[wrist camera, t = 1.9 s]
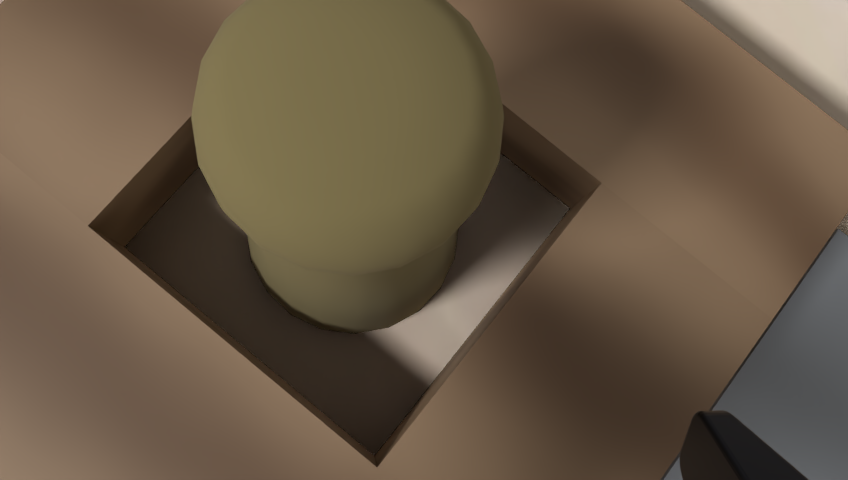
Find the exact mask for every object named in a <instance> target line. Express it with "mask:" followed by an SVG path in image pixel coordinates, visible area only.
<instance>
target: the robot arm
mask: <svg viewBox="0 0 848 480" xmlns="http://www.w3.org/2000/svg"><path fill="white" fill-rule="evenodd" d="M680 470H681V474H682V478H683V480H809V479H808V478H807V477H805V476H804V475H803V474H802V473H801V472H799V471H798V470H797V469H796V468H795V467H794V466H792V465H791V464H790V463H789V462H788V461H787V460H785V459H784V458H783V457H782V456H781V455H780V454H778V453H777V452H776V451H775V450H774V449H773V448H771V447H770V446H769V445H768V444H767V443H766V442H764V441H763V440H762V439H761V438H760V437H759V436H757V435H756V434H755V433H754V432H753V431H751V430H750V429H749V428H748V427H747V426H746V425H744V424H743V423H742V422H741V421H740V420H739V419H737V418H736V417H735V416H734V415H733V414H731V413H729V412H727V411H723V410H713V411H698V412H697V413H695V414H694V415H693V417H692V420H691V423H690V425H689V428H688V431H687V434H686V437H685V440H684V442H683V445H682V448H681V452H680Z"/></svg>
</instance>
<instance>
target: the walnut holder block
mask: <svg viewBox="0 0 848 480" xmlns="http://www.w3.org/2000/svg"><path fill="white" fill-rule="evenodd" d="M245 1H246V0H4V1H3V2H2V3H1V4H0V480H660V479H661V478H662V477H663V475H664V474H665V472H666V471H667V469H668V468H669V467H670V465H671V464H672V462H673V461H674V459H675V458H676V457H677V455H678V454H679V452H680V451H681V448H682V445H683V442H684V440H685V437H686V434H687V431H688V428H689V425H690V423H691V420H692V417H693V415H694V414H695V413H697V412H698V411H709V409H710V408H711V407H712V405H713V404H714V402H715V401H716V399H717V398H718V397H719V395H720V394H721V392H722V391H723V389H724V388H725V387H726V385H727V384H728V382H729V381H730V379H731V378H732V377H733V375H734V374H735V372H736V371H737V369H738V368H739V367H740V365H741V364H742V362H743V361H744V359H745V358H746V357H747V355H748V354H749V352H750V351H751V349H752V348H753V347H754V345H755V344H756V342H757V341H758V339H759V338H760V337H761V335H762V334H763V332H764V331H765V329H766V328H767V327H768V325H769V324H770V322H771V321H772V319H773V318H774V317H775V315H776V314H777V312H778V311H779V309H780V308H781V307H782V305H783V304H784V302H785V301H786V299H787V298H788V297H789V295H790V294H791V292H792V291H793V289H794V288H795V287H796V285H797V284H798V282H799V281H800V279H801V278H802V277H803V275H804V274H805V272H806V271H807V269H808V268H809V267H810V265H811V264H812V262H813V261H814V259H815V258H816V257H817V255H818V254H819V252H820V251H821V249H822V248H823V247H824V245H825V244H826V242H827V241H828V239H829V238H830V237H831V235H832V234H833V232H834V231H835V229H836V228H837V227H838V225H839V224H840V222H841V221H842V219H843V218H844V217H845V215H846V214H847V212H848V130H847V129H846V128H844V127H843V126H842V125H841V124H839V123H838V122H837V121H835V120H834V119H833V118H832V117H830V116H829V115H828V114H826V113H825V112H824V111H823V110H821V109H820V108H819V107H817V106H816V105H815V104H814V103H812V102H811V101H810V100H808V99H807V98H806V97H805V96H803V95H802V94H801V93H799V92H798V91H797V90H796V89H794V88H793V87H792V86H790V85H789V84H788V83H787V82H785V81H784V80H783V79H781V78H780V77H779V76H778V75H776V74H775V73H774V72H772V71H771V70H770V69H769V68H767V67H766V66H765V65H763V64H762V63H761V62H760V61H758V60H757V59H756V58H754V57H753V56H752V55H751V54H749V53H748V52H747V51H745V50H744V49H743V48H742V47H740V46H739V45H738V44H736V43H735V42H734V41H733V40H731V39H730V38H729V37H727V36H726V35H725V34H724V33H722V32H721V31H720V30H718V29H717V28H716V27H715V26H713V25H712V24H711V23H709V22H708V21H707V20H706V19H704V18H703V17H702V16H700V15H699V14H698V13H697V12H695V11H694V10H693V9H691V8H690V7H689V6H688V5H686V4H685V3H684V2H682V1H681V0H446V1H448V2H449V3H450V4H451V5H452V6H453V7H454V8H455V9H456V10H457V11H459V12H460V13H461V14H462V15H463V16H464V17H465V18H466V19H467V20H468V21H470V23H471V25H472V26H473V28H474V30H475V31H476V33H477V35H478V37H479V38H480V40H481V42H482V43H483V45H484V47H485V49H486V50H487V52H488V54H489V55H490V57H491V59H492V61H493V64H494V69H495V74H496V78H497V83H498V87H499V92H500V97H501V101H502V106H503V112H504V123H503V132H502V141H501V151H500V152H501V153H502V154H503V155H505V156H506V157H507V158H508V159H510V160H511V161H512V162H513V163H515V164H516V165H517V166H518V167H520V168H521V169H522V170H523V171H525V172H526V173H527V174H528V175H530V176H531V177H532V178H533V179H535V180H536V181H537V182H538V183H540V184H541V185H542V186H543V187H545V188H546V189H547V190H548V191H550V192H551V193H552V194H553V195H555V196H556V197H557V198H558V199H560V200H561V201H562V202H563V203H564V204H566V205H567V206H568V207H569V208H570V209H569V211H568V212H567V213H566V215H565V216H564V217H563V218H562V220H561V221H560V222H559V223H558V225H557V226H556V227H555V228H554V230H553V231H552V232H551V233H550V235H549V236H548V237H547V239H546V240H545V241H544V242H543V244H542V245H541V246H540V247H539V249H538V250H537V251H536V252H535V254H534V255H533V256H532V258H531V259H530V260H529V261H528V263H527V264H526V265H525V266H524V268H523V269H522V270H521V271H520V273H519V274H518V275H517V276H516V278H515V279H514V280H513V282H512V283H511V284H510V285H509V287H508V288H507V289H506V290H505V292H504V293H503V294H502V295H501V297H500V298H499V299H498V301H497V302H496V303H495V304H494V306H493V307H492V308H491V309H490V311H489V312H488V313H487V314H486V316H485V317H484V318H483V319H482V321H481V322H480V323H479V325H478V326H477V327H476V328H475V330H474V331H473V332H472V333H471V335H470V336H469V337H468V338H467V340H466V341H465V342H464V343H463V345H462V346H461V347H460V349H459V350H458V351H457V352H456V354H455V355H454V356H453V357H452V359H451V360H450V361H449V362H448V364H447V365H446V366H445V368H444V369H443V370H442V371H441V373H440V374H439V375H438V376H437V378H436V379H435V380H434V381H433V383H432V384H431V385H430V386H429V388H428V389H427V390H426V392H425V393H424V394H423V395H422V397H421V398H420V399H419V400H418V402H417V403H416V404H415V405H414V407H413V408H412V409H411V411H410V412H409V413H408V414H407V416H406V417H405V418H404V419H403V421H402V422H401V423H400V424H399V426H398V427H397V428H396V429H395V431H394V432H393V433H392V435H391V436H390V437H389V438H388V440H387V441H386V442H385V443H384V445H383V446H382V447H381V448H380V450H379V451H378V452H377V454H376V455H375V456H374V455H373V454H371V453H370V452H369V451H368V450H367V449H366V448H364V447H363V446H362V445H361V444H360V443H358V442H357V441H356V440H355V439H354V438H352V437H351V436H350V435H349V434H348V433H346V432H345V431H344V430H343V429H342V428H340V427H339V426H338V425H337V424H336V423H334V422H333V421H332V420H331V419H330V418H328V417H327V416H326V415H325V414H324V413H322V412H321V411H320V410H319V409H318V408H316V407H315V406H314V405H313V404H312V403H310V402H309V401H308V400H307V399H306V398H304V397H303V396H302V395H301V394H300V393H298V392H297V391H296V390H295V389H294V388H292V387H291V386H290V385H289V384H288V383H286V382H285V381H284V380H283V379H282V378H280V377H279V376H278V375H277V374H276V373H274V372H273V371H272V370H271V369H270V368H268V367H267V366H266V365H265V364H264V363H262V362H261V361H260V360H259V359H258V358H256V357H255V356H254V355H253V354H252V353H250V352H249V351H248V350H247V349H246V348H244V347H243V346H242V345H241V344H240V343H238V342H237V341H236V340H235V339H234V338H232V337H231V336H230V335H229V334H228V333H226V332H225V331H224V330H223V329H222V328H220V327H219V326H218V325H217V324H216V323H215V322H213V321H212V320H211V319H210V318H209V317H207V316H206V315H205V314H204V313H203V312H201V311H200V310H199V309H198V308H197V307H195V306H194V305H193V304H192V303H191V302H189V301H188V300H187V299H186V298H185V297H183V296H182V295H181V294H180V293H179V292H177V291H176V290H175V289H174V288H173V287H171V286H170V285H169V284H168V283H167V282H165V281H164V280H163V279H162V278H161V277H159V276H158V275H157V274H156V273H155V272H153V271H152V270H151V269H150V268H149V267H147V266H146V265H145V264H144V263H143V262H141V261H140V260H139V259H138V258H137V257H135V256H134V255H133V254H132V253H131V252H129V251H128V250H127V249H126V248H125V246H126V244H127V243H128V242H129V241H130V240H131V239H132V238H133V237H134V236H135V235H136V234H137V233H138V231H139V230H140V229H141V228H142V227H143V226H144V225H145V224H146V223H147V222H148V221H149V220H150V218H151V217H152V216H153V215H154V214H155V213H156V212H157V211H158V210H159V209H160V208H161V207H162V205H163V204H164V203H165V202H166V201H167V200H168V199H169V198H170V197H171V196H172V195H173V194H174V192H175V191H176V190H177V189H178V188H179V187H180V186H181V185H182V184H183V183H184V182H185V181H186V179H187V178H188V177H189V176H190V175H191V174H192V173H193V172H194V171H195V170H196V169H197V168H198V160H197V153H196V147H195V140H194V133H193V127H192V120H191V115H192V106H193V101H194V96H195V90H196V85H197V80H198V75H199V69H200V64H201V60H202V58H203V56H204V55H205V53H206V51H207V49H208V48H209V46H210V44H211V42H212V41H213V39H214V37H215V35H216V34H217V32H218V30H219V28H220V27H221V25H222V23H223V21H224V20H225V19H226V18H227V17H228V16H229V15H230V14H232V13H233V12H234V11H235V10H236V9H237V8H238V7H239V6H240V5H242V4H243V3H244V2H245Z"/></svg>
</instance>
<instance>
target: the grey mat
mask: <svg viewBox="0 0 848 480" xmlns="http://www.w3.org/2000/svg"><path fill="white" fill-rule="evenodd" d="M713 410H723V411H727V412H729V413H731V414H733V415H734V416H735V417H736V418H737V419H739V420H740V421H741V422H742V423H743V424H744V425H746V426H747V427H748V428H749V429H750V430H751V431H753V432H754V433H755V434H756V435H757V436H759V437H760V438H761V439H762V440H763V441H764V442H766V443H767V444H768V445H769V446H770V447H771V448H773V449H774V450H775V451H776V452H777V453H778V454H780V455H781V456H782V457H783V458H784V459H785V460H787V461H788V462H789V463H790V464H791V465H792V466H794V467H795V468H796V469H797V470H798V471H799V472H801V473H802V474H803V475H804V476H805V477H807V478H808V479H809V480H848V236H847V235H846V234H844V233H843V232H842V231H841V230H839V229H837V230H835V231H834V232H833V234H832V235H831V237H830V238H829V239H828V241H827V242H826V244H825V245H824V247H823V248H822V249H821V251H820V252H819V254H818V255H817V257H816V258H815V259H814V261H813V262H812V264H811V265H810V267H809V268H808V269H807V271H806V272H805V274H804V275H803V277H802V278H801V279H800V281H799V282H798V284H797V285H796V287H795V288H794V289H793V291H792V292H791V294H790V295H789V297H788V298H787V299H786V301H785V302H784V304H783V305H782V307H781V308H780V309H779V311H778V312H777V314H776V315H775V317H774V318H773V319H772V321H771V322H770V324H769V325H768V327H767V328H766V329H765V331H764V332H763V334H762V335H761V337H760V338H759V339H758V341H757V342H756V344H755V345H754V347H753V348H752V349H751V351H750V352H749V354H748V355H747V357H746V358H745V359H744V361H743V362H742V364H741V365H740V367H739V368H738V369H737V371H736V372H735V374H734V375H733V377H732V378H731V379H730V381H729V382H728V384H727V385H726V387H725V388H724V389H723V391H722V392H721V394H720V395H719V397H718V398H717V399H716V401H715V402H714V404H713V405H712V407H711V408H710V409H709V411H713ZM680 452H681V451H680ZM680 452H679V454H678V455H677V457H676V458H675V459H674V461H673V462H672V464H671V465H670V467H669V468H668V469H667V471H666V472H665V474H664V475H663V477H662V478H661V479H660V480H683V478H682V474H681V470H680Z"/></svg>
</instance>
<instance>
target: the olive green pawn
mask: <svg viewBox="0 0 848 480" xmlns="http://www.w3.org/2000/svg"><path fill="white" fill-rule="evenodd" d="M191 120H192V127H193V133H194V140H195V147H196V153H197V160H198V166H199V168H200V169H201V171H202V173H203V175H204V177H205V179H206V181H207V183H208V185H209V187H210V189H211V190H212V192H213V194H214V196H215V198H216V200H217V202H218V204H219V206H220V208H221V209H222V210H223V211H224V212H225V214H226V215H227V216H228V217H229V218H230V219H231V220H232V221H233V222H234V223H236V224H237V225H238V226H239V227H240V228H241V229H242V230H243V231H244V232H245V233H246V234H247V238H248V244H249V250H250V257H251V262H252V264H253V266H254V268H255V270H256V272H257V274H258V275H259V277H260V279H261V281H262V283H263V285H264V287H265V289H266V291H267V292H268V293H269V294H270V295H271V296H272V297H273V298H274V299H275V300H276V301H277V302H278V303H280V304H281V305H282V306H283V307H284V308H285V309H286V310H287V311H288V312H289V313H290V314H291V315H293V316H295V317H297V318H299V319H301V320H303V321H306V322H308V323H310V324H312V325H314V326H316V327H318V328H320V329H324V330H332V331H340V332H347V333H355V334H356V333H361V332H367V331H372V330H377V329H382V328H388V327H390V326H392V325H394V324H396V323H398V322H399V321H401V320H403V319H405V318H407V317H409V316H410V315H412V314H414V313H416V312H418V311H419V310H420V309H421V308H422V307H423V306H424V305H425V304H426V303H427V301H428V300H429V299H430V298H431V297H432V296H433V295H434V294H435V293H436V292H437V291H438V290H439V289H440V288H441V286H442V284H443V282H444V280H445V277H446V275H447V273H448V271H449V269H450V267H451V265H452V262H453V260H454V258H455V251H456V243H457V234H458V228H459V227H460V226H461V225H462V224H463V223H464V222H465V221H466V220H467V219H468V217H469V216H470V215H471V214H472V213H473V212H474V211H475V210H476V208H477V207H478V206H479V205H480V202H481V200H482V198H483V196H484V194H485V192H486V189H487V187H488V185H489V183H490V181H491V179H492V177H493V174H494V172H495V170H496V168H497V166H498V164H499V160H500V151H501V141H502V132H503V123H504V112H503V106H502V101H501V97H500V92H499V87H498V83H497V78H496V74H495V69H494V64H493V61H492V59H491V57H490V55H489V54H488V52H487V50H486V49H485V47H484V45H483V43H482V42H481V40H480V38H479V37H478V35H477V33H476V31H475V30H474V28H473V26H472V25H471V23H470V21H468V20H467V19H466V18H465V17H464V16H463V15H462V14H461V13H460V12H459V11H457V10H456V9H455V8H454V7H453V6H452V5H451V4H450V3H449V2H448V1H446V0H246V1H245V2H244V3H243V4H242V5H240V6H239V7H238V8H237V9H236V10H235V11H234V12H233V13H232V14H230V15H229V16H228V17H227V18H226V19H225V20H224V21H223V23H222V25H221V27H220V28H219V30H218V32H217V34H216V35H215V37H214V39H213V41H212V42H211V44H210V46H209V48H208V49H207V51H206V53H205V55H204V56H203V58H202V60H201V64H200V69H199V75H198V80H197V85H196V90H195V96H194V101H193V106H192V115H191Z"/></svg>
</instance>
